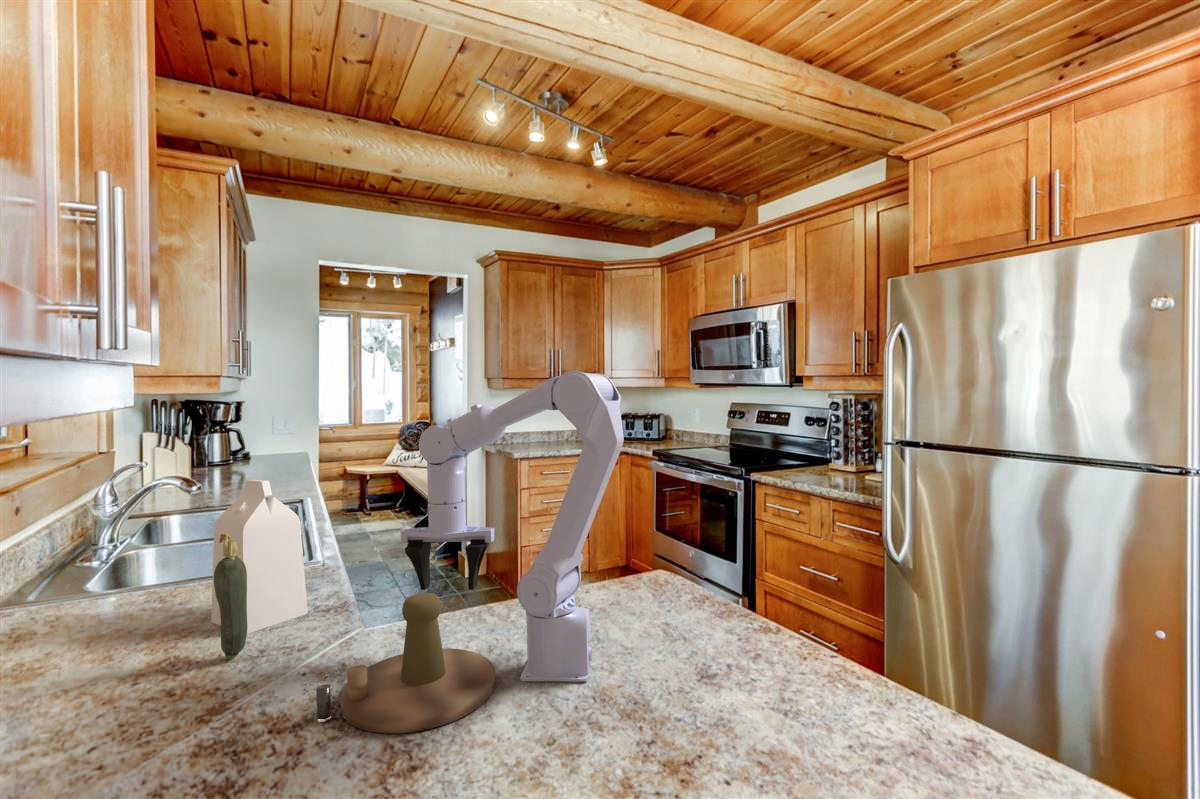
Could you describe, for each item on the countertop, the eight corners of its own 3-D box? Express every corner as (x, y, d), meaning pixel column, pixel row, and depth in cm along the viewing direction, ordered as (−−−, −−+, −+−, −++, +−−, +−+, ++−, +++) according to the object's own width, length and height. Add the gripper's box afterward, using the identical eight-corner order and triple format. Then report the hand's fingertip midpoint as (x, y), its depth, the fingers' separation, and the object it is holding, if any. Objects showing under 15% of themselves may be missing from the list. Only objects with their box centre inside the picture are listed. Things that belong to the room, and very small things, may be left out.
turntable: (470, 647, 92) (469, 616, 92) (517, 702, 74) (516, 663, 74) (333, 680, 81) (332, 645, 81) (351, 753, 64) (350, 708, 64)
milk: (307, 613, 109) (304, 478, 110) (244, 634, 100) (240, 486, 100) (274, 603, 116) (271, 475, 116) (211, 622, 106) (208, 482, 106)
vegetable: (254, 657, 90) (252, 531, 90) (227, 669, 86) (224, 537, 87) (237, 653, 92) (234, 529, 92) (209, 664, 88) (206, 535, 88)
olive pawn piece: (431, 687, 76) (429, 604, 76) (391, 683, 77) (389, 601, 77) (453, 666, 82) (451, 589, 82) (415, 663, 83) (414, 587, 83)
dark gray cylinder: (476, 672, 83) (476, 644, 83) (444, 724, 70) (443, 692, 70) (367, 671, 85) (366, 644, 85) (314, 722, 71) (313, 690, 71)
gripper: (498, 496, 93) (500, 579, 93) (412, 497, 94) (414, 579, 94) (486, 504, 86) (488, 594, 86) (394, 505, 87) (396, 594, 87)
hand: (449, 587), depth 90 cm, fingers open, 7 cm apart
